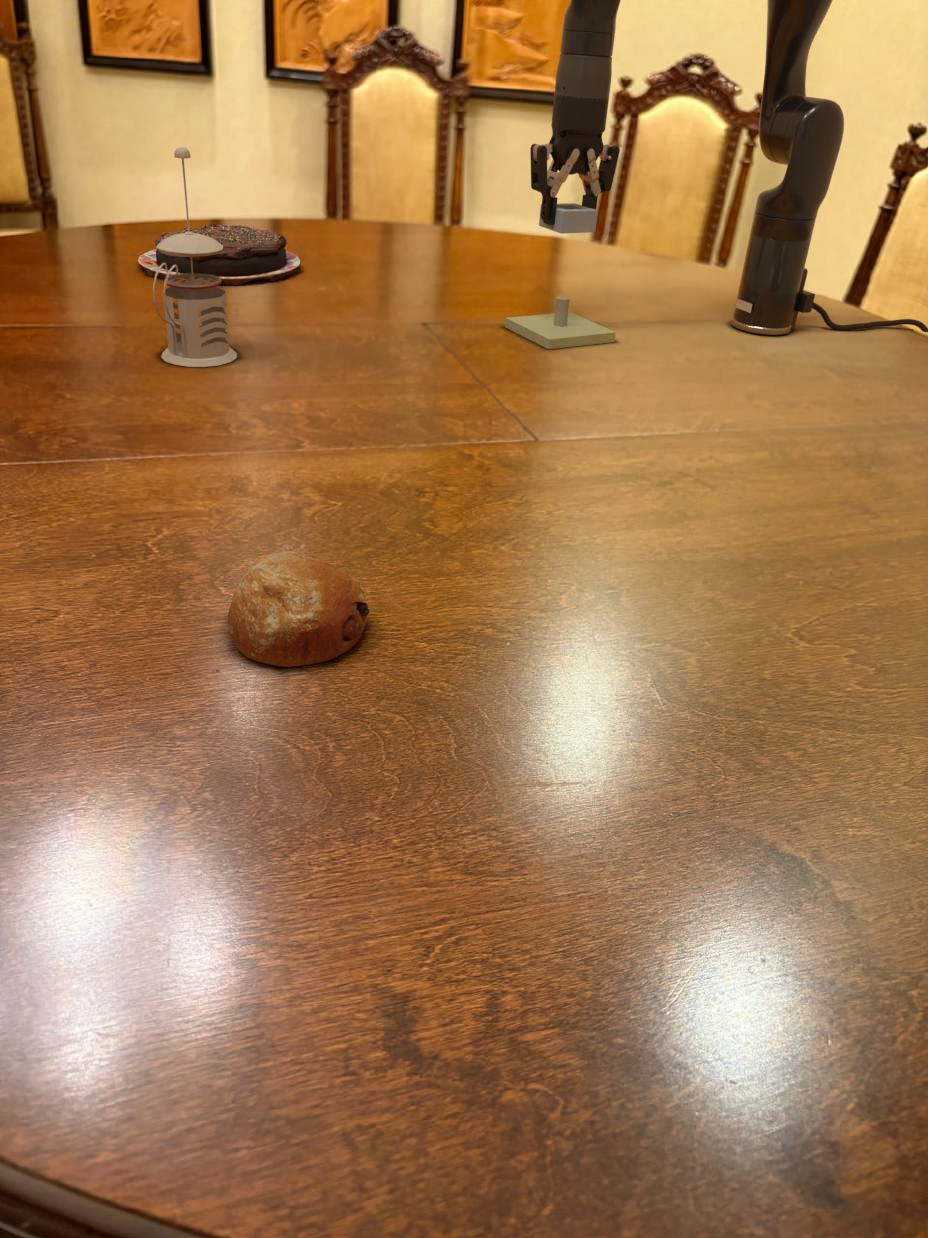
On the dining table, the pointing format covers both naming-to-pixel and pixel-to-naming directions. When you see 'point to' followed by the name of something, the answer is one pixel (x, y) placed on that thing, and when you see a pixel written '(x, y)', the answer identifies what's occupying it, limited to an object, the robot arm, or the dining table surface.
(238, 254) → the chocolate cake
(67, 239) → the dining table surface
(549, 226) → the gray rectangular block
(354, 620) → the bread roll
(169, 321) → the french press
